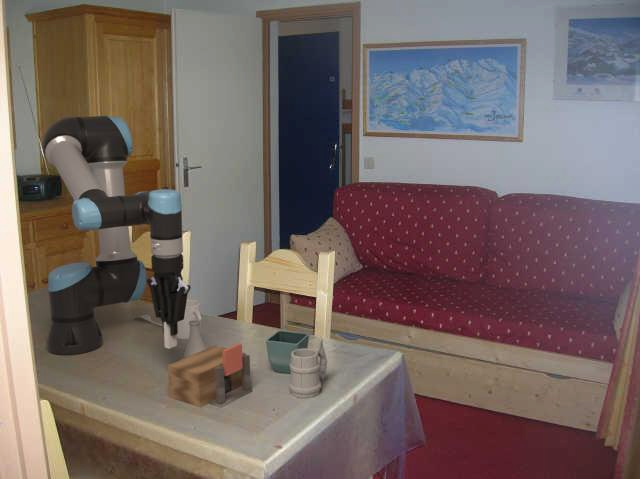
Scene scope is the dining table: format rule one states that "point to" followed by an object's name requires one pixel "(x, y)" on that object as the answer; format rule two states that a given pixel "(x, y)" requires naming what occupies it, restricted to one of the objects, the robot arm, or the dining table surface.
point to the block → (207, 379)
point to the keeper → (232, 359)
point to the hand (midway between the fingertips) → (170, 346)
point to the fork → (149, 319)
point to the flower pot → (284, 348)
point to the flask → (194, 339)
